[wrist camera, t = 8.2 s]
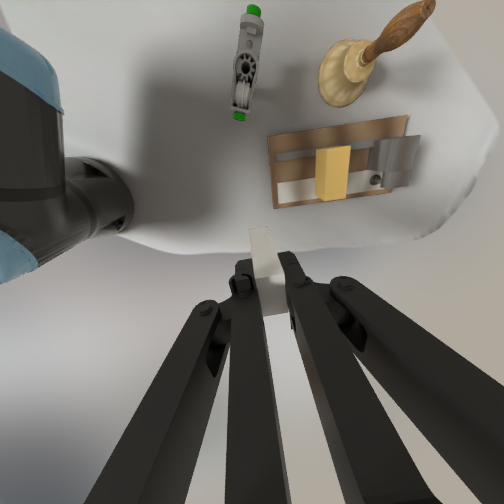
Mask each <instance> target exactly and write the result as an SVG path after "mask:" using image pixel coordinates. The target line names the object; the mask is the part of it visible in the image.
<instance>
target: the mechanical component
mask: <svg viewBox="0 0 504 504" xmlns="http://www.w3.org/2000/svg"><path fill="white" fill-rule="evenodd" d="M260 16H261V10H260V8H259V7H258V6H256V5H252V4H251V5H248V6H247V13H246V14H243V15H242V16H241V23H240V35H239V43H238V51H237V55H236V56H235V59H234V63H233V69H234V74H233V82H232V91H231V99H230V108H229V109H230V111H233V112H234V115H233V118H234V119H236V120H240V121H245V115H249V116H250V110H251V104H252V98H253V91H254V85H255V83H256V79H257V73H258V60H259V54H260V48H261V41H262V35H263V29H264V22H263V20H262V19H261V18H260ZM244 114H245V115H244Z"/></svg>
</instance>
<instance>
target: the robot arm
mask: <svg viewBox="0 0 504 504" xmlns="http://www.w3.org/2000/svg"><path fill="white" fill-rule="evenodd" d="M62 115H64V110H63V109H62V107H61V102H60V93H59V84H58V78H57V75H56V72H55V70H54V69H53V67H52V66H51V64H50V63H49V62H48V61H47V59H46V58H45V57H44V56H42V55H41V54H40V53H39V52H38V51H37V50H35V49H34V48H32V47H31V46H30V45H28V44H27V43H25V42H24V41H22V40H21V39H19V38H17V37H16V36H14V35H13V34H11V33H9V32H8V31H6V30H5V29H3V28H1V27H0V284H3V283H6V282H8V281H11V280H13V279H15V278H17V277H19V276H21V275H23V274H25V273H28V272H32V271H34V270H35V269H37V268H38V267H40V266H41V265H43V264H45V263H47V262H48V261H50V260H52V259H53V258H55V257H57V256H59V255H60V254H62V253H64V252H65V251H67V250H69V249H71V248H72V247H74V246H76V245H77V244H79V243H81V242H82V241H84V240H86V239H90V238H98V237H105V236H110V235H113V234H116V233H118V232H119V231H121V230H122V229H124V228H125V227H126V226H127V225H128V224H129V223H130V221H131V220H132V217H133V213H134V204H133V199H132V196H131V194H130V191H129V189H128V188H127V186H126V184H125V183H124V182H123V180H122V179H121V178H120V177H119V176H118V175H117V174H116V173H115V172H114V171H113V170H111V169H110V168H109V167H107V166H106V165H104V164H102V163H100V162H98V161H96V160H93V159H90V158H85V157H66V158H64V140H63V119H62ZM248 230H249V238H250V245H251V253H252V258H251V259H245V260H240V261H238V262H237V264H236V265H235V275H233V276H232V277H231V278H230V280H229V286H230V289H231V292H232V296H231V297H230V298H229V299H227V300H225V301H223V302H221V303H219V304H218V303H217V302H216V301H214V300H205V301H203V302H200V303H199V304H198V305H196V306H195V308H194V309H193V310H192V312H191V314H190V316H189V318H188V319H187V321H186V323H185V325H184V326H183V328H182V330H181V332H180V334H179V335H178V337H177V339H176V341H175V343H174V344H173V346H172V348H171V350H170V351H169V353H168V355H167V357H166V358H165V360H164V362H163V364H162V366H161V367H160V369H159V371H158V373H157V374H156V376H155V378H154V380H153V381H152V383H151V385H150V387H149V389H148V390H147V392H146V394H145V396H144V397H143V399H142V401H141V403H140V405H139V406H138V408H137V410H136V412H135V414H134V415H133V417H132V419H131V421H130V423H129V424H128V426H127V428H126V429H125V431H124V433H123V435H122V437H121V438H120V440H119V442H118V444H117V445H116V447H115V449H114V451H113V453H112V455H111V456H110V458H109V460H108V461H107V463H106V465H105V467H104V468H103V470H102V472H101V474H100V476H99V477H98V479H97V481H96V483H95V485H94V486H93V488H92V490H91V492H90V493H89V495H88V497H87V499H86V500H85V502H84V504H184V503H185V500H186V497H187V493H188V490H189V486H190V482H191V479H192V476H193V472H194V469H195V465H196V462H197V458H198V455H199V451H200V448H201V444H202V441H203V437H204V434H205V430H206V427H207V424H208V420H209V417H210V413H211V410H212V406H213V403H214V399H215V396H216V392H217V389H218V385H219V382H220V378H221V375H222V371H223V368H224V364H225V361H226V357H227V354H228V350H229V347H230V368H229V396H228V424H227V451H226V452H227V453H226V479H225V504H291V497H290V490H289V484H288V477H287V471H286V465H285V458H284V451H283V445H282V438H281V432H280V425H279V418H278V412H277V405H276V398H275V392H274V386H273V379H272V372H271V365H270V359H269V352H268V346H267V339H266V333H265V326H264V321H263V317H264V316H270V315H276V314H281V313H287V312H288V309H289V312H290V321H291V329H293V330H294V334H295V337H296V340H297V344H298V347H299V350H300V353H301V357H302V360H303V364H304V367H305V370H306V374H307V377H308V380H309V384H310V387H311V390H312V394H313V397H314V400H315V404H316V407H317V410H318V414H319V417H320V420H321V423H322V427H323V430H324V434H325V437H326V440H327V443H328V447H329V450H330V453H331V457H332V460H333V463H334V467H335V470H336V473H337V477H338V480H339V483H340V487H341V490H342V493H343V496H344V500H345V503H346V504H443V503H441V502H440V501H439V500H438V499H437V498H436V497H435V496H434V494H433V493H432V492H431V490H430V489H429V488H428V486H427V484H426V483H425V481H424V479H423V478H422V476H421V474H420V472H419V470H418V469H417V467H416V465H415V463H414V462H413V460H412V458H411V456H410V454H409V453H408V451H407V449H406V447H405V446H404V444H403V442H402V440H401V438H400V436H399V435H398V433H397V431H396V429H395V427H394V426H393V424H392V422H391V420H390V419H389V417H388V415H387V413H386V411H385V410H384V408H383V406H382V404H381V402H380V401H379V399H378V397H377V395H376V393H375V392H374V390H373V388H372V386H371V384H370V383H369V381H368V379H367V377H366V376H365V374H364V372H363V370H362V369H361V366H360V365H359V363H358V361H357V359H356V358H355V356H354V354H355V355H356V357H357V358H358V359H359V360H360V361H361V362H362V364H363V365H364V366H365V367H366V368H367V369H368V371H369V372H370V373H371V374H372V375H373V376H374V378H375V379H376V380H377V381H378V382H379V383H380V385H381V386H382V387H383V388H384V389H385V391H386V392H387V393H388V394H389V395H390V396H391V398H392V399H393V400H394V401H395V402H396V404H397V405H398V406H399V407H400V408H401V409H402V411H403V412H404V413H405V414H406V415H407V416H408V418H410V420H411V421H412V422H413V423H414V425H415V426H416V427H417V428H418V429H419V431H420V432H421V433H422V434H423V435H424V436H425V438H426V439H427V440H428V441H429V442H430V443H431V445H432V446H433V447H434V448H435V449H436V450H437V452H438V453H439V454H440V455H441V456H442V457H443V459H444V460H445V461H446V462H447V463H448V464H449V466H450V467H451V468H452V469H453V470H454V471H455V473H456V474H457V475H458V476H459V477H460V478H461V480H462V481H463V482H464V483H465V484H466V486H467V487H468V488H469V489H470V490H471V492H472V493H473V494H474V495H475V496H476V497H477V499H478V500H479V501H480V502H481V503H482V504H504V386H503V385H501V384H500V383H498V382H497V381H496V380H494V379H493V378H492V377H490V376H489V375H487V374H486V373H484V372H483V371H482V370H480V369H479V368H478V367H476V366H475V365H473V364H472V363H471V362H469V361H468V360H467V359H465V358H464V357H462V356H461V355H459V354H458V353H457V352H455V351H454V350H453V349H451V348H450V347H449V346H447V345H446V344H444V343H443V342H442V341H440V340H439V339H437V338H436V337H435V336H433V335H432V334H431V333H429V332H427V331H426V330H425V329H424V328H422V327H421V326H419V325H418V324H417V323H415V322H414V321H412V320H411V319H410V318H408V317H407V316H406V315H404V314H403V313H401V312H400V311H398V310H397V309H396V308H394V307H393V306H392V305H390V304H389V303H387V302H386V301H385V300H383V299H382V298H381V297H379V296H378V295H376V294H375V293H374V292H372V291H371V290H369V289H368V288H367V287H365V286H364V285H363V284H361V283H360V282H358V281H357V280H355V279H353V278H350V277H347V276H339V277H335V278H333V279H332V280H331V282H330V284H322V283H315V282H313V280H311V278H310V277H307V276H306V275H305V274H304V272H303V269H302V268H301V266H300V264H299V262H298V260H297V258H296V256H295V254H293V253H292V252H290V251H287V252H281V253H277V252H276V250H275V247H274V244H273V241H272V239H271V236H270V233H269V231H268V228H267V226H264V227H259V228H253V229H248ZM353 353H354V354H353Z"/></svg>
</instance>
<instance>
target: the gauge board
mask: <svg viewBox="0 0 504 504" xmlns="http://www.w3.org/2000/svg"><path fill="white" fill-rule="evenodd" d="M407 116H408V115H403V116H397V117H390V118H384V119H377V120H371V121H365V122H358V123H352V124H345V125H339V126H332V127H326V128H320V129H313V130H307V131H300V132H294V133H287V134H281V135H275V136H268V149H269V161H270V173H271V185H272V198H273V208H274V209H278V208H285V207H292V206H299V205H306V204H313V203H320V202H327V201H323V200H322V199H320V198H318V197H317V196H315V168H316V149H322V148H329V147H335V146H351V150H350V160H349V170H348V180H347V189H346V198H344V199H348V198H355V197H362V196H369V195H376V194H383V193H390V192H391V191H392V188H396V187H403V186H408V184H409V180H410V176H411V172H412V168H413V164H414V160H415V156H416V152H417V148H418V143H419V139H420V135H415V136H404V137H403V135H404V130H405V125H406V121H407ZM337 200H341V199H337ZM330 201H334V200H330Z"/></svg>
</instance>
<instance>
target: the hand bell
mask: <svg viewBox="0 0 504 504" xmlns="http://www.w3.org/2000/svg"><path fill="white" fill-rule="evenodd" d="M435 5H436V1H435V0H423V1H420V2H416V3H414V4H411V5H409V6H407V7H406V8H404V9H403V10H402V11H400V12H399V13H398V14H397V15H396V16H395V17H394V18H393V19H392V20H391V21H390V22H389V23H388V25H387V26H386V27H385V29H384V30H383V32H382V33H381V35H380V37H379V38H378V39H377V40H375V41H374V42H373V43H372V42H371V41H369V40H360V41H357V40H353V39H346V40H342V41H340V42H338V43H337V44H335V45H334V46H333V47H332V48H331V49H330V50H329V51H328V52H327V54H326V55H325V57H324V59H323V61H322V63H321V66H320V69H319V74H318V86H319V91H320V94H321V96H322V98H323V99H324V100H325V101H326V102H327V103H328V104H330V105H331V106H334V107H342V106H346V105H348V104H350V103H352V102H353V101H354V100H355V99H357V98H358V96H359V95H360V94H361V93H362V91H363V90H364V88H365V86H366V83H367V81H368V78H369V75H370V74H371V72H372V71H373V69H374V66H375V63H376V57H378V56H379V55H380V54H381V53H383V52H388V51H392V50H394V49H396V48H398V47H400V46H401V45H403V44H404V43H406V42H407V41H408V40H409V39H411V38H412V37H413V36H414V35H415V33H416V32H417V31H418V30H419V29H420V27H421V26H422V25H423V23H424V22H425V21H426V19H427V18H428V17H429V16H430V15H431V14H432V13H433V11H434V9H435Z"/></svg>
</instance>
